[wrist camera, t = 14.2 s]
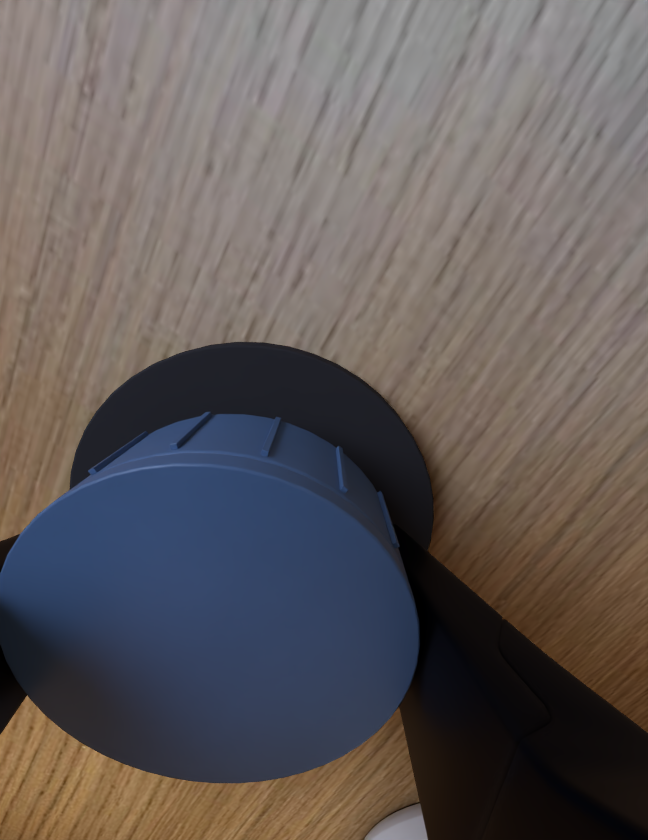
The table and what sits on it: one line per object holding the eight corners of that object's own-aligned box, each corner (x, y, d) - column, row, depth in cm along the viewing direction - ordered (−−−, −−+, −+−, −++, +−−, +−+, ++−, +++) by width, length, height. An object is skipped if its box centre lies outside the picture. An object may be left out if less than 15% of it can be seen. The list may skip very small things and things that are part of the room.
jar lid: (416, 425, 7) (462, 481, 5) (373, 672, 9) (390, 793, 7) (68, 397, 7) (-60, 443, 4) (107, 657, 9) (33, 776, 6)
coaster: (104, 632, 10) (91, 650, 10) (60, 324, 8) (38, 325, 7) (399, 650, 11) (403, 669, 10) (459, 359, 8) (470, 363, 7)
